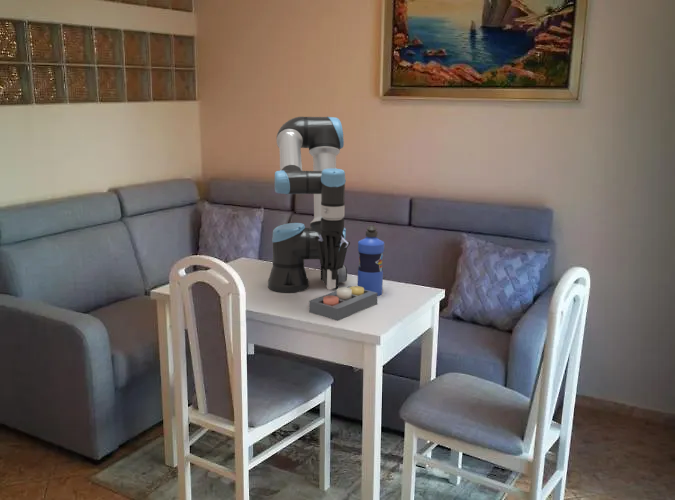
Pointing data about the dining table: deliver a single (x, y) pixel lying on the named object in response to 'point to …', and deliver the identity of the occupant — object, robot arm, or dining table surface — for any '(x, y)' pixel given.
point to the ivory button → (344, 293)
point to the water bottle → (371, 261)
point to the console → (343, 305)
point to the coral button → (331, 300)
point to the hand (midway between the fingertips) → (331, 288)
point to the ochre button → (357, 290)
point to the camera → (340, 276)
